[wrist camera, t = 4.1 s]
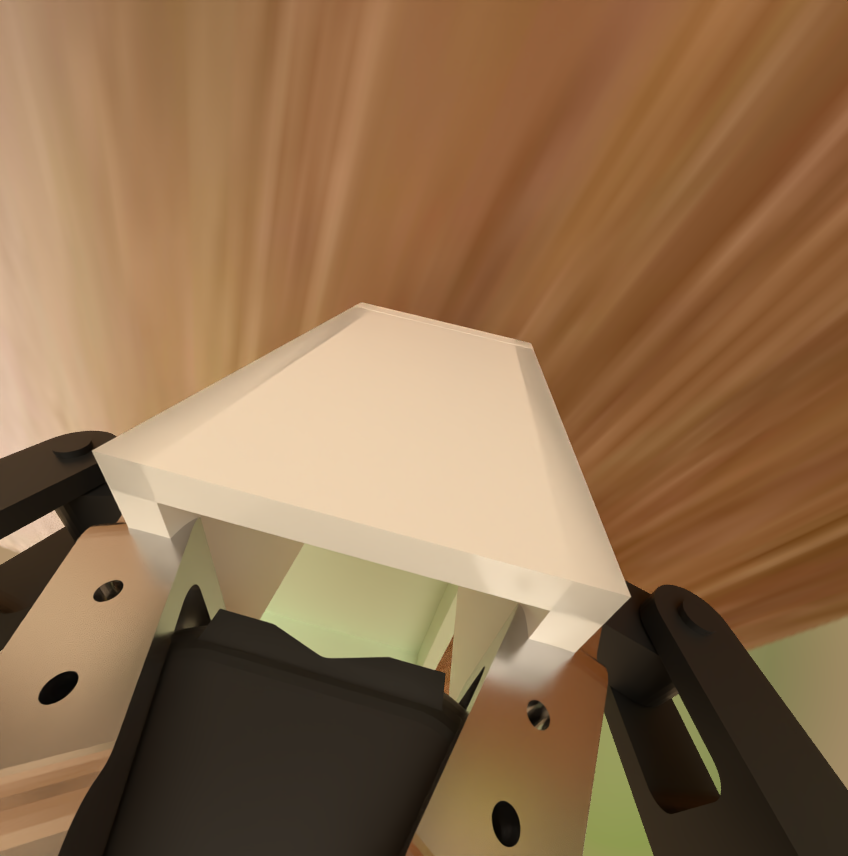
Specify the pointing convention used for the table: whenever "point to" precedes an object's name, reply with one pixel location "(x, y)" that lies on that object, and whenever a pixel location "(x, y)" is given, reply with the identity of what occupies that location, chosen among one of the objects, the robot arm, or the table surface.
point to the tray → (363, 609)
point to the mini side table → (384, 475)
